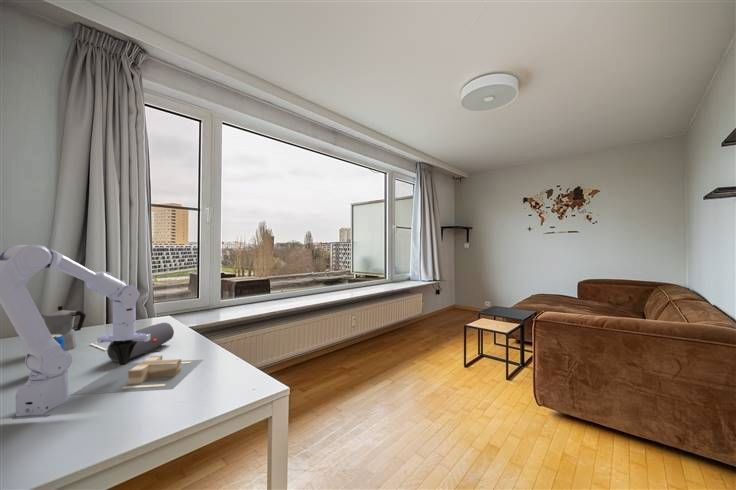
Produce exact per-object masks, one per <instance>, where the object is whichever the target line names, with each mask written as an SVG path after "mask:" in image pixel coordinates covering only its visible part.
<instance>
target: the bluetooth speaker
mask: <svg viewBox="0 0 736 490" xmlns="http://www.w3.org/2000/svg"><path fill="white" fill-rule="evenodd" d="M136 333H142V334H150V340H149V341H146V342H144V341H137V343H136V345H135V347H134V348H133V350H132V353H131V356H130V359H129V360H131V359H134V358H137V357H139V356H141V355H142V356H143V355H144V354H150V353H152V352H154V351H156V350H157V349H158V348H159V347H160V346H162V345H163V344H165V343H167V342H169V341H170V340H172V339H173V337H174V334H175V333H174V327H173V326H172V324H170V323H168V322H161V323H156V324H154V325H153V324H152V325H150V326H147V327H143V328H140V329H139V330H136ZM112 344H113V342H109V344H108V346H107V349H108V350H107V351H106V352H107V356H108V358H109V359H110V360H111V361H113V362H115V363H119V360H118V358H117V355H116V354H115V352H114V351H113V350H112V348H111V345H112Z"/></svg>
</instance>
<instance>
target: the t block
mask: <svg viewBox="0 0 736 490" xmlns="http://www.w3.org/2000/svg"><path fill="white" fill-rule="evenodd" d="M181 361H182V358H180V359H178V358H177V359H163V355H150V356H149V357H148V358H146V359H144V360H143V361H142V362H139V363H140V364H138V365H137V366H135V367H134V368H132V369H131V370H129V371H128V384H139V383H142V382H143V381H145V380H146V379H147V378H149V377H160V376H176V375H177V374H178V373H179V372H181Z"/></svg>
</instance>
